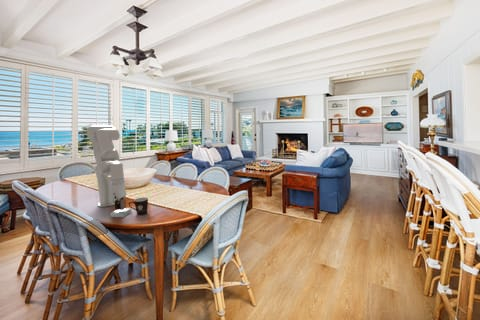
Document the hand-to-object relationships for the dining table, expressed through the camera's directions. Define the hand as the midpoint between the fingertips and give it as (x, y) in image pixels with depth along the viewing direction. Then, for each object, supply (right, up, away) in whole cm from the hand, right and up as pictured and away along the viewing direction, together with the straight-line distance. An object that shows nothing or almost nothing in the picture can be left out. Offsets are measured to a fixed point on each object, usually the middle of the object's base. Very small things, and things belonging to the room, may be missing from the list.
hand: (120, 207), depth 152 cm
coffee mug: (+13, -5, +2) cm, 14 cm away
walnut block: (0, -1, 0) cm, 1 cm away
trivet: (0, -5, +1) cm, 5 cm away
